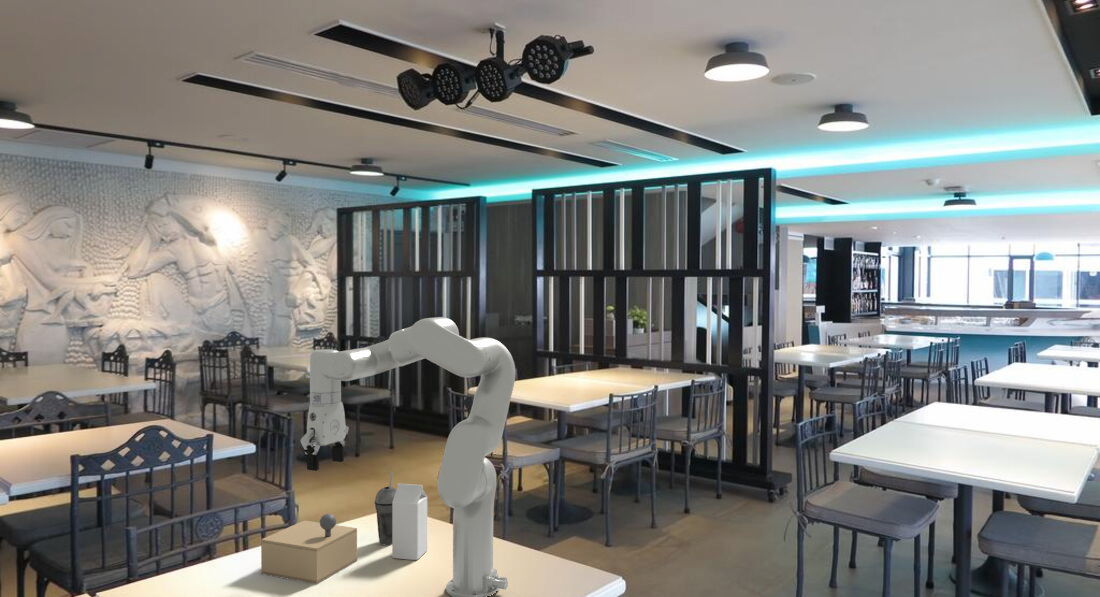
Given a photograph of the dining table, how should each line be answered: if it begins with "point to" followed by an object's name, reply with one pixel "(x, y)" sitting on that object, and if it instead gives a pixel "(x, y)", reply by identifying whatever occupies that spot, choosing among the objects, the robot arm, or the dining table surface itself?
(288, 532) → the flap
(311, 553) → the light brown open box
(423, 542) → the milk carton
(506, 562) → the dining table surface
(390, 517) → the beverage cup
